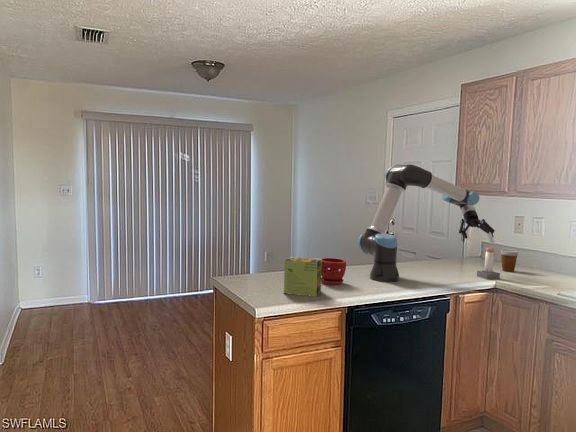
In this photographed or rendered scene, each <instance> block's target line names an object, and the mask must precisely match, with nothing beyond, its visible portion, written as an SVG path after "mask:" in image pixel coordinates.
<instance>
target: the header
mask: <svg viewBox="0 0 576 432" xmlns="http://www.w3.org/2000/svg"><path fill="white" fill-rule="evenodd" d="M484 270H485V269H483V270H477V271H476V277H479V278H481V279H483V280H500V277H501V273H500V272H497V271H494V270H493V273H486V272H484Z"/></svg>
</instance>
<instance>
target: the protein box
mask: <svg viewBox="0 0 576 432" xmlns="http://www.w3.org/2000/svg"><path fill="white" fill-rule="evenodd" d="M283 270H284V274H283V275H284V276H283V277H284V278H283V280H284V281H283V294H284V293H290V294H289V295H292V294H300V295H299V296H302V295H310V296H309V297H313V296H318V295H320V293H321V292H322V282H321V278H322V276H321V270H322V258H313V257H301V256H300V257H299V256H297V257H296V256H290V257H289V258H287V259H284V269H283Z"/></svg>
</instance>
